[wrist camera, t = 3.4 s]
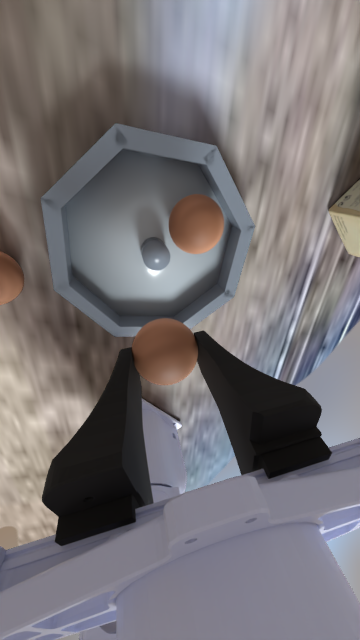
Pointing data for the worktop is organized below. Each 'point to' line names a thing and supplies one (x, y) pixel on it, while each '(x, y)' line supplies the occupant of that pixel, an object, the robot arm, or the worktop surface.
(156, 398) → the worktop surface
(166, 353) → the bead
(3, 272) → the bead
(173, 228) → the bead seated
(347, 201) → the skincare box
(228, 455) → the worktop surface
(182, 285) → the groove tray
